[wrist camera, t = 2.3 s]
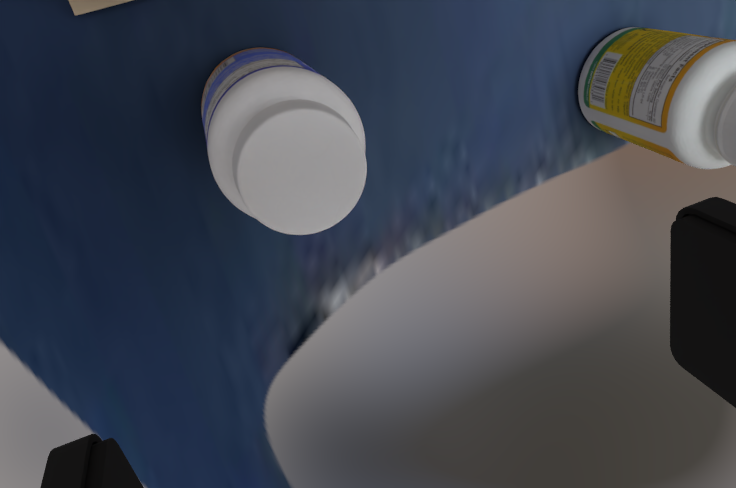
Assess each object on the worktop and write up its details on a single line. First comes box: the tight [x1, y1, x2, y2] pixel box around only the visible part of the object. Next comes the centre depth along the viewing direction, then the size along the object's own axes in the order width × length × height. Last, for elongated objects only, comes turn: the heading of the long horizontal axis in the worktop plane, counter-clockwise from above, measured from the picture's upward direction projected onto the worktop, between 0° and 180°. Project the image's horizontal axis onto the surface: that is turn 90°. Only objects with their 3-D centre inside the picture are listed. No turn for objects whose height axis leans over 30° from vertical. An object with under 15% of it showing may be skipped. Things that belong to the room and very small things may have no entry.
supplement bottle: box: [578, 27, 736, 169], centre depth 27 cm, size 5×5×10 cm
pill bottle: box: [201, 47, 367, 235], centre depth 22 cm, size 5×5×10 cm
